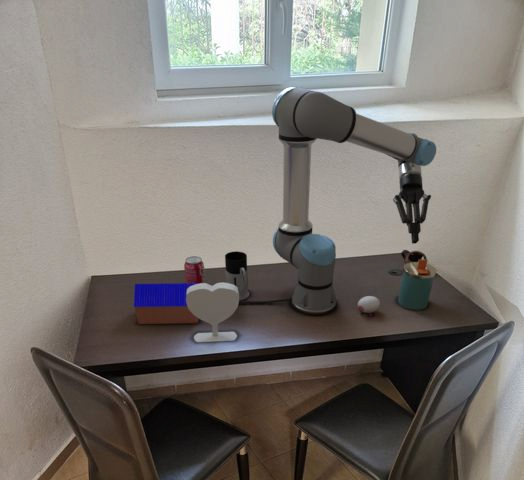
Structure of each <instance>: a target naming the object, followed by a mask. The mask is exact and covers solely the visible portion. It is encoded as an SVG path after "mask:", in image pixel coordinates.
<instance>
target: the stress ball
mask: <svg viewBox="0 0 524 480" xmlns="http://www.w3.org/2000/svg"><path fill="white" fill-rule="evenodd" d="M380 306H381V302H380V299H379V298H377V297H376V296H372V295H367V296H363V297H361V298H360V299H358V302H357V308H358V310H359V311H360V312H362V313H365V314H369V317H371V316H373V314H372V313H374V312H376V311H377V310H378V309H379V308H380Z"/></svg>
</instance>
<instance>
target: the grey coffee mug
mask: <svg viewBox="0 0 524 480" xmlns="http://www.w3.org/2000/svg"><path fill="white" fill-rule="evenodd" d="M224 265H225V268H224V273H225V283H229V284H233V285H235V286H236V287H238V292H239V301H244V300H246V299H248V298H249V297H250V292H249V273H248V272H249V271H248V255H247V253H245V252H244V251H237V250H236V251H230V252H227V253H226V254H225V255H224Z"/></svg>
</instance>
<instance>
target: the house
mask: <svg viewBox="0 0 524 480" xmlns="http://www.w3.org/2000/svg"><path fill="white" fill-rule="evenodd" d="M195 284H198V283H186V282H185V283H184V282H179V283H178V282H177V283H175V282H174V283H135V284H134V296H133V297H134V298H133V307H134V308H135V313H136V318H137V323H138V325H158V324H159V325H161V324H163V325H164V324H165V325H167V324H168V325H169V324H199V320H200V319H199V318H198V317H196V316H194V315H193V314H192V312H191V311H190V310H189V309H188V306H187V303H186V294H187V289H188V288H189V287H190V286H193V285H195Z"/></svg>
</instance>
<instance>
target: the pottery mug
mask: <svg viewBox="0 0 524 480" xmlns="http://www.w3.org/2000/svg"><path fill="white" fill-rule="evenodd" d="M400 254H401V257H402V259H403V261H404V264H407V263H410V262H418V261H419V260H428V258H427V256H426V254H425V253H423V252H422V251H420V250H412V251H409V250H408V249H402V251H401V253H400Z"/></svg>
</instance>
